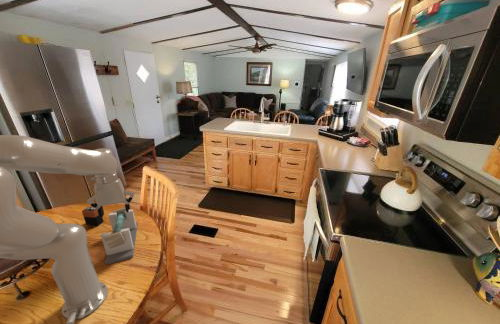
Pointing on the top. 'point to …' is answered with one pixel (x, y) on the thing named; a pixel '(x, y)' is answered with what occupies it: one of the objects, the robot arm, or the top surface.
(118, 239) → the dowel bar
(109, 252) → the stand
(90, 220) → the battery
